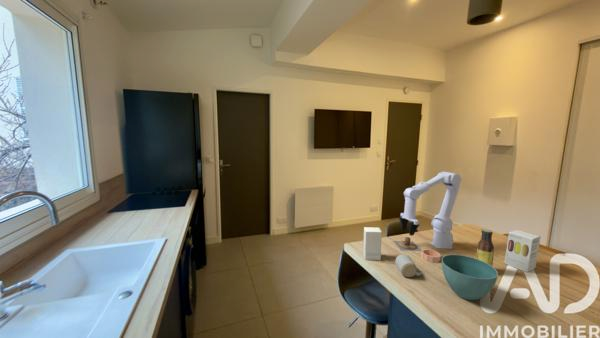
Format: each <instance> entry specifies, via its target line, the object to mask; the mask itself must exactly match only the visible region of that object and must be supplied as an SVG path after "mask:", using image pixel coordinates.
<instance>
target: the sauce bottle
mask: <svg viewBox="0 0 600 338" xmlns="http://www.w3.org/2000/svg"><path fill="white" fill-rule="evenodd" d="M492 236H493V231H492V230H491V229H490V230H489V229H487V228H485V229H481V237H480V240H479V241H478V242H477V247H476V248H477V249H476V258H475V259H478V260H481V261H483V262H485V263H487V264H489V265H490V266H492V267H493V266H494V265H493V264H494V263H493V262H494V253H495V252H494V251H495V247H494V244H493V240H492Z"/></svg>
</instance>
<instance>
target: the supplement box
mask: <svg viewBox="0 0 600 338" xmlns="http://www.w3.org/2000/svg"><path fill="white" fill-rule="evenodd" d="M540 242H541V235H538V234H534V233H530V232H526V231H523V230H520V229H516V230H515V229H514V230H512V231H510V232H508V236H507V242H506V249H505V256H504V263H503V264H505V265H507V266H510V267H513V268H514V269H518V270H521V271H523V272H526V273H529V272H531V271H532V270H534V269H536V268H537V267H536V266H537V262H538V255H539V254H538V253H539V248H540Z"/></svg>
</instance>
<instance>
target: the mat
mask: <svg viewBox="0 0 600 338" xmlns="http://www.w3.org/2000/svg"><path fill="white" fill-rule="evenodd" d="M400 241H401V240H397V241H396V240H395V241H392V242H393V243H394V244H395V245H396V246H397V247H398V249H399V250H400V251H403V252H404V251H407V252H408V251H409V252H412V251H414V252H421V251H422V250H423V249H421V248H420V247H419V246H418V245H417V244H416V243H415V242H414V241H410V242H411V243H414V244H415V245H416V249H413V250H409V249H404V248H402V247H400V246H399V245H398V243H399V242H400Z"/></svg>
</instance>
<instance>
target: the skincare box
mask: <svg viewBox="0 0 600 338" xmlns="http://www.w3.org/2000/svg"><path fill="white" fill-rule="evenodd" d="M382 234H383V232H382V230H381V228H380V227H376V226H375V227H373V226H372V227H371V226H369V227H368V226H367V227H366V226H364V227H363V246H362V254H363V258H364V260H366V261H368V260H370V261H381V260H382V237H383V235H382Z"/></svg>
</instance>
